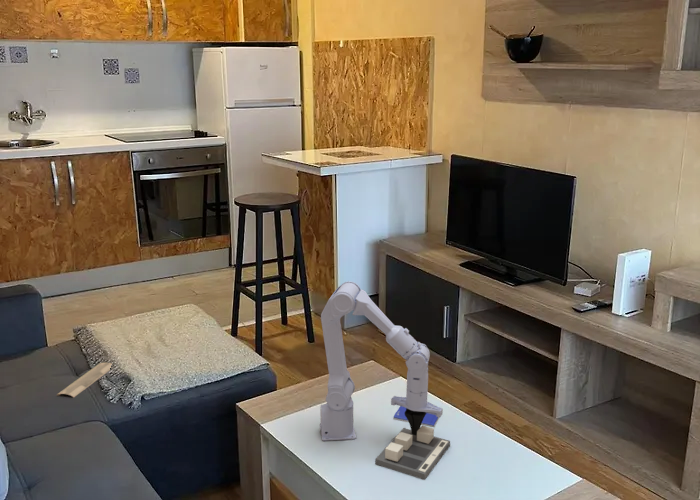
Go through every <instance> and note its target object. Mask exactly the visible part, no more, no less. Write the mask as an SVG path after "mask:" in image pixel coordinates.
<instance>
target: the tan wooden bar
mask: <svg viewBox="0 0 700 500" xmlns="http://www.w3.org/2000/svg"><path fill="white" fill-rule="evenodd" d="M112 364H113V363H110V362H99V363H98V364H97V365H95V366H94V367H92V368H91V369H90V370H89V371H86V373H84V374H83V375H82V376H80V377H78V378H77V379H76V380H75V381H73V382H72V383H70V384H69V385H68V386H66V387H65V388H64V389H62V390H60V392H58V393H56V396H61V395H68V396H71V397H72V399H74V398H76V397H77V396H78V395H79V394H81V393H82V392H83V391H84V390H86V389H88V387H90V386H91V385H93V384H94V383H95V382H96V381H99V379H100V378H102V377H103V376H104V375H106V374H107V373H108V372H110V368H111V365H112Z"/></svg>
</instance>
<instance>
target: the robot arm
mask: <svg viewBox="0 0 700 500" xmlns="http://www.w3.org/2000/svg"><path fill="white" fill-rule="evenodd" d="M352 311H353V312H352ZM349 313H352V314H351V315H352V316H365V318H367V319H368V320H369V322H371V323H372V324H373V325H374V326H375V327H377V328H378V329H379V331H380V330H381V332H382V333H384V334H385V342H387V344H388V345H390V346H391V347H392V349H394V350H395V351H396V353H397V354H399V355H400V356H401V357H402V358H403V359H404V360H405V365H406V367H407V372H406V391H405V392H406V396H397V395H393V396H392V397H391V398H390V406H399V407H400V406H402V407H405V408H406V411H405V416H406V418H407V419H408V422H407V423H409V426H410V430H411V431H412V434H413V435H417V431H418V430H419V429H420V427H421V426H422V425H421V423H422V421H423V419H424V417H425V415H426V413H429V414H433V415H436V417H439V419H440V418H441V417H442V416H443V412H444V411H443V410H444V409H443V407H440V406H438V405H435V404H433V403H431V402H429V401H428V391H429V360H430V358H431V357H430V356H431V352H430V350H429V348H428V346H427V345H426V344H425V343H421V342H420V341H417V340H416V339H415V338H414V337H413V336H412V335H411V334H410V330H409V329H408V328H407V327H405V328H404V327H403V326H401V325H395V323H393V322H392V321H391V320H390V319H389V318H388V317H387V315H386V314H384V312H383V311H382V310H381V309H380V308H379V307H378V305H377V304H376V303H375V302H374V301H373V300H372V299H371V298H370V296H369V294H368V293H367V291H365V290H364V289H361V287H360V285H359V284H358V283H357V282H354V281H349V280H348V281H345V282H343V283H341V284H340V285H339V286H338V287H337V288H336V289H335V291H334V292H333V293H332V295H331V296H330V298H329V299H328V300H327V302H326V304H325V306H324V307H323V310H322V311H321V314H320V321H321V327H322V337H323V342H324V348H325V355H326V362H327V369H328V381H327V394H326V397H325V401H326V403H324V404H320V408H319V409H320V418H319V419H320V422H319V430H320V433H321V440H322V441H323V442H324V441H326V442H327V441H341V440H356V439H357V435H356V431H355V427H354V401H353V399H352V395H353V394H354V392H355V389H356V388H355V387H356V385H355V382H354V381H353V379H352V377H351V373H350V371H349V370H348V368H347V360H346V354H345V353H346V352H345V346H344V340H343V330H342V324H341V318H342V317H344V316H345V315H347V314H349Z"/></svg>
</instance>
